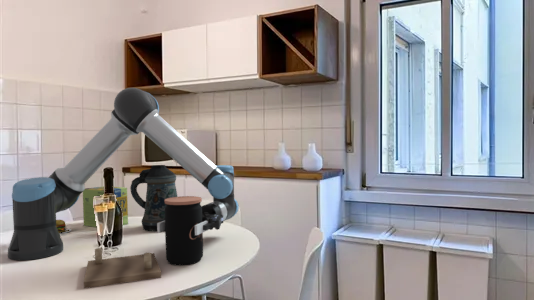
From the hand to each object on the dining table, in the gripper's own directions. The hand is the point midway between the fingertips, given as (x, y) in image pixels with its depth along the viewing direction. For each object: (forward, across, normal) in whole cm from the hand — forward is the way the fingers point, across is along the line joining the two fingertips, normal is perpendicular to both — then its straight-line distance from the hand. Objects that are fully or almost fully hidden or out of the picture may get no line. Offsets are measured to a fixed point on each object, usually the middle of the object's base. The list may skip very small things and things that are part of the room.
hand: (176, 229), depth 112 cm
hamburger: (-22, +66, -11) cm, 71 cm away
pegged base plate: (+9, +11, -10) cm, 18 cm away
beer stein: (-39, +32, -10) cm, 51 cm away
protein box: (-38, +57, -10) cm, 69 cm away
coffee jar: (-4, 0, -10) cm, 11 cm away
